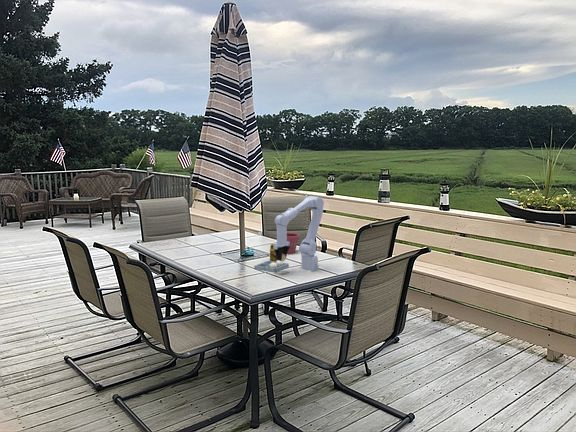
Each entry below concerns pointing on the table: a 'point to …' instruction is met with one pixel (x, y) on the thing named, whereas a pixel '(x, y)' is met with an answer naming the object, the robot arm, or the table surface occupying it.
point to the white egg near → (279, 263)
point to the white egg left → (273, 265)
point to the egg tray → (265, 267)
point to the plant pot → (292, 242)
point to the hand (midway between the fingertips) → (281, 259)
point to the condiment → (273, 254)
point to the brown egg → (283, 257)
